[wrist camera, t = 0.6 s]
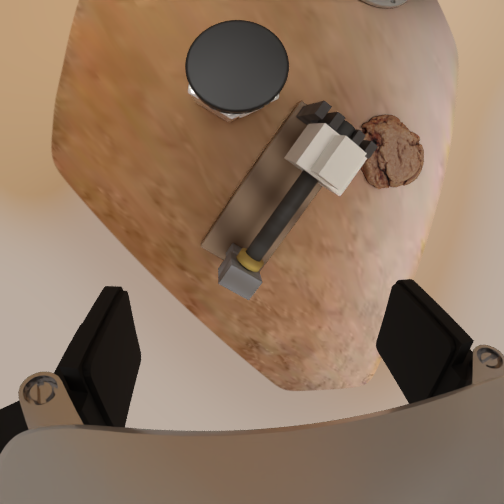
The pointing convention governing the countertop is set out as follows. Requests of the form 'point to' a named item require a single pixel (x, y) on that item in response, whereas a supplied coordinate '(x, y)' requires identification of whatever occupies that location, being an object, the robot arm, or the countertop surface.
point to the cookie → (392, 153)
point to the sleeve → (327, 156)
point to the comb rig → (270, 201)
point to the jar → (236, 68)
